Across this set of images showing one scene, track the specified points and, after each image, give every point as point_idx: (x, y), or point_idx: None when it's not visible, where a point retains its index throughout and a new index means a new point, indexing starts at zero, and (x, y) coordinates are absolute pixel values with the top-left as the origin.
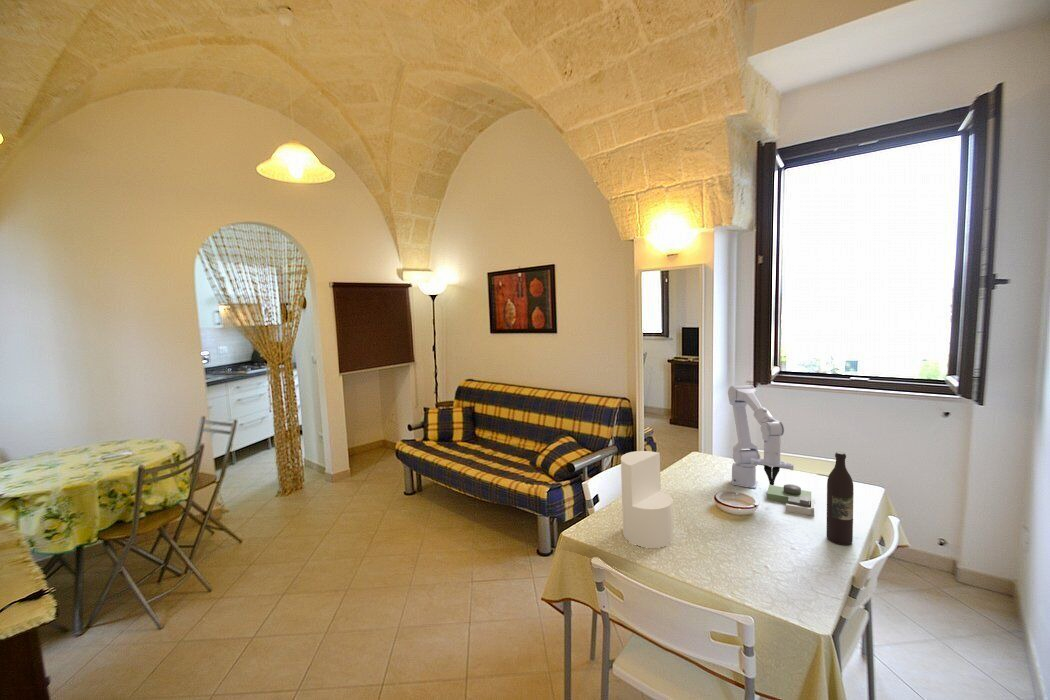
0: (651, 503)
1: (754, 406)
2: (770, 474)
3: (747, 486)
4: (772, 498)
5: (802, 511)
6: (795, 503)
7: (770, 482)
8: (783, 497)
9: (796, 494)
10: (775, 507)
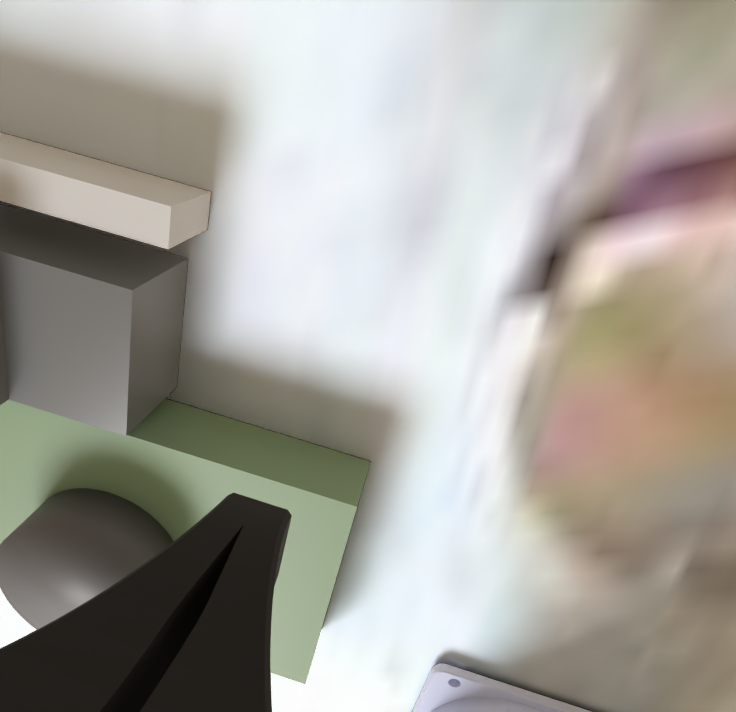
0: None
1: None
2: (166, 694)
3: (509, 690)
4: (314, 458)
5: (27, 150)
6: (62, 258)
7: (260, 535)
8: (197, 445)
9: (62, 494)
10: (314, 270)
